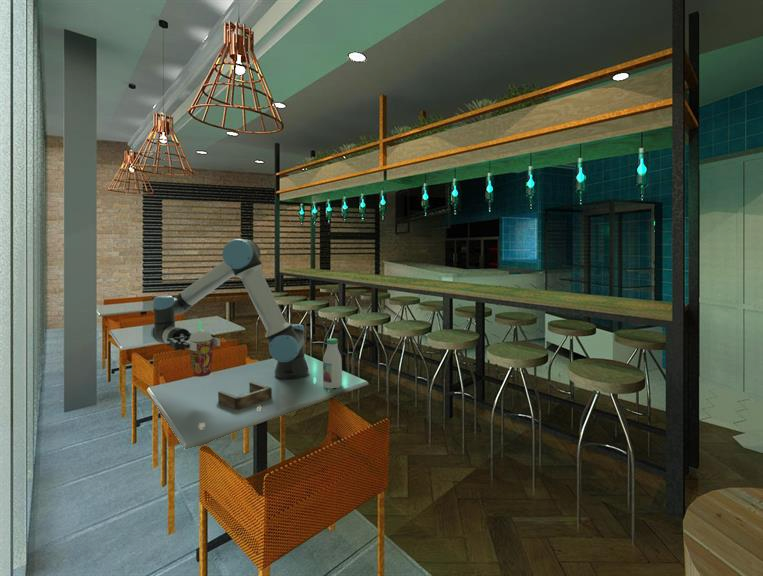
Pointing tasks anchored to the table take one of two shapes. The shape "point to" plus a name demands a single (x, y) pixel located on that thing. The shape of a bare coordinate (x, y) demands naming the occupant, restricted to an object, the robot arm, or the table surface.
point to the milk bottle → (332, 365)
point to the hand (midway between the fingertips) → (207, 344)
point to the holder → (246, 396)
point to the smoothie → (201, 352)
